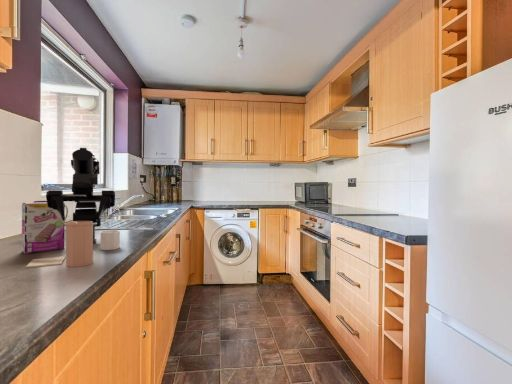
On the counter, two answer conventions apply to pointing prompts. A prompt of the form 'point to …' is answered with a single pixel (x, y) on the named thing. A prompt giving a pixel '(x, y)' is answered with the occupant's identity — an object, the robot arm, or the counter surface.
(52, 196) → the robot arm
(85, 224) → the brown rounded shape
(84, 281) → the counter surface
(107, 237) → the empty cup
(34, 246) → the candy bar box
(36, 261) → the coaster
